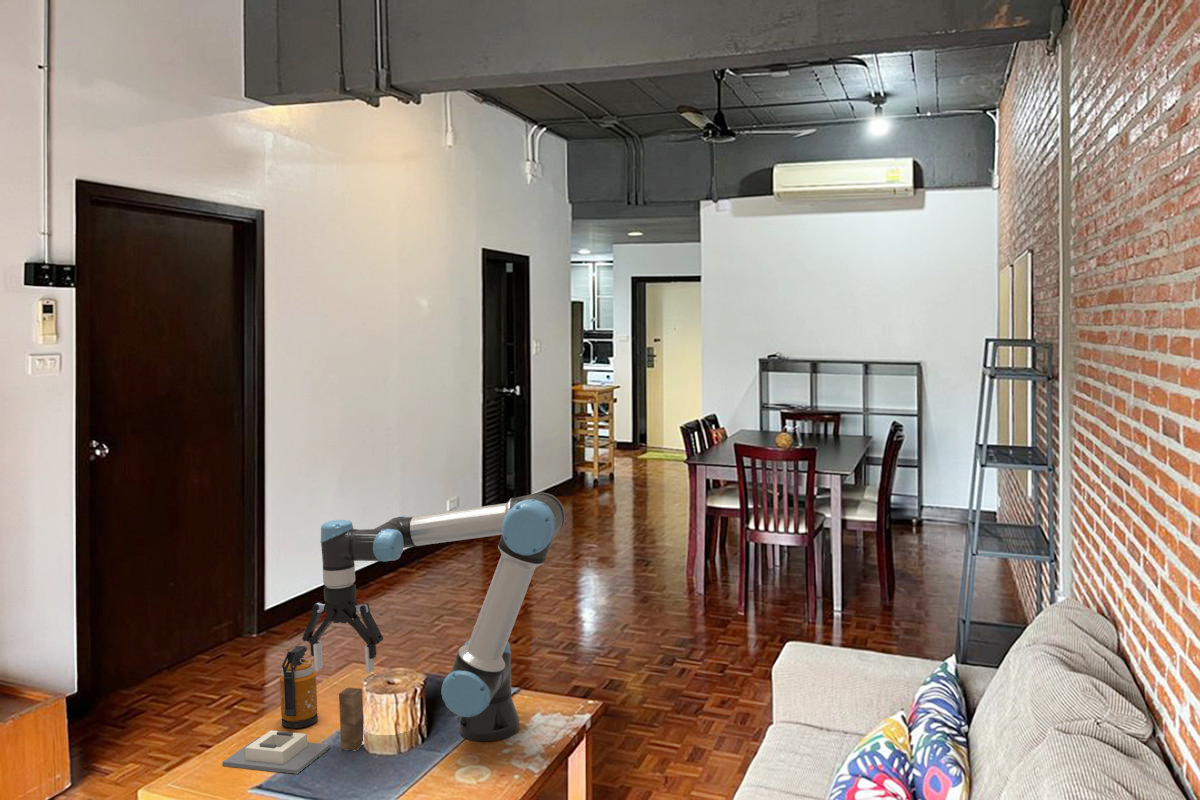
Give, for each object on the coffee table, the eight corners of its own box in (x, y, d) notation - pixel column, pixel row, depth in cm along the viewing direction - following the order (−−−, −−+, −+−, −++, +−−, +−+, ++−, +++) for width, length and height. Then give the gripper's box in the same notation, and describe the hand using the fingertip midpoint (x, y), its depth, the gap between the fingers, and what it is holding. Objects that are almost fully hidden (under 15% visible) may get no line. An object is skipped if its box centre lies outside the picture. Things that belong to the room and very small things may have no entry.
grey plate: (330, 748, 229) (329, 730, 229) (297, 774, 216) (296, 755, 215) (259, 740, 234) (258, 722, 234) (222, 765, 221) (221, 746, 220)
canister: (323, 716, 249) (320, 642, 247) (306, 733, 238) (302, 656, 237) (290, 715, 250) (287, 642, 248) (272, 733, 239) (268, 656, 237)
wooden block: (364, 744, 231) (362, 688, 230) (355, 751, 227) (353, 694, 226) (349, 742, 232) (347, 687, 231) (341, 749, 228) (338, 693, 227)
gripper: (393, 581, 229) (398, 666, 230) (301, 579, 234) (305, 662, 236) (380, 589, 221) (384, 677, 223) (284, 587, 227) (289, 673, 228)
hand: (344, 670), depth 229 cm, fingers open, 13 cm apart
